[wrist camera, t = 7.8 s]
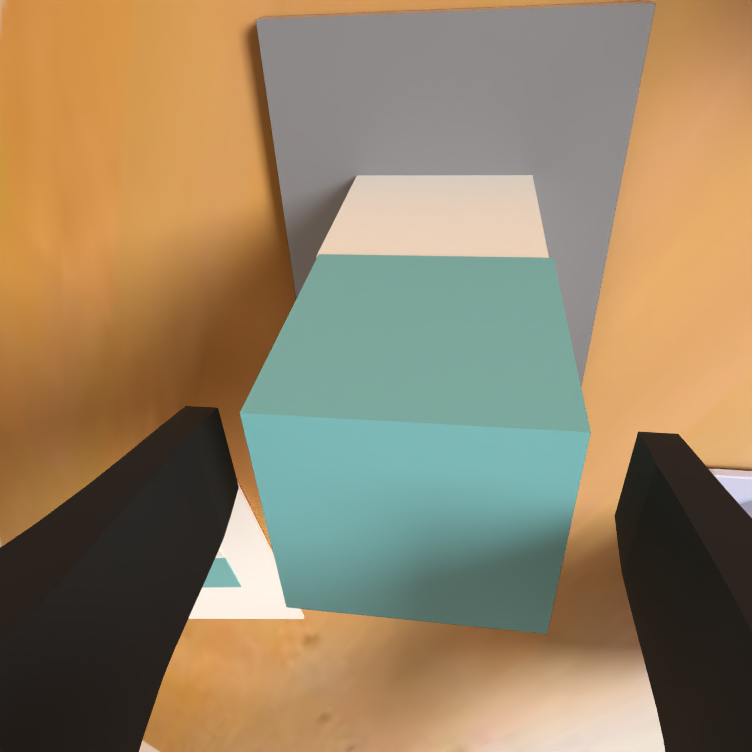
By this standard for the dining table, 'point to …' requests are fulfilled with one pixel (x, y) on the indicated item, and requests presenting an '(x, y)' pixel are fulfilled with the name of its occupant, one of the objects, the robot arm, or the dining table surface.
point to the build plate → (461, 117)
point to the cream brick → (439, 217)
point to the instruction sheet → (243, 574)
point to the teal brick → (421, 439)
